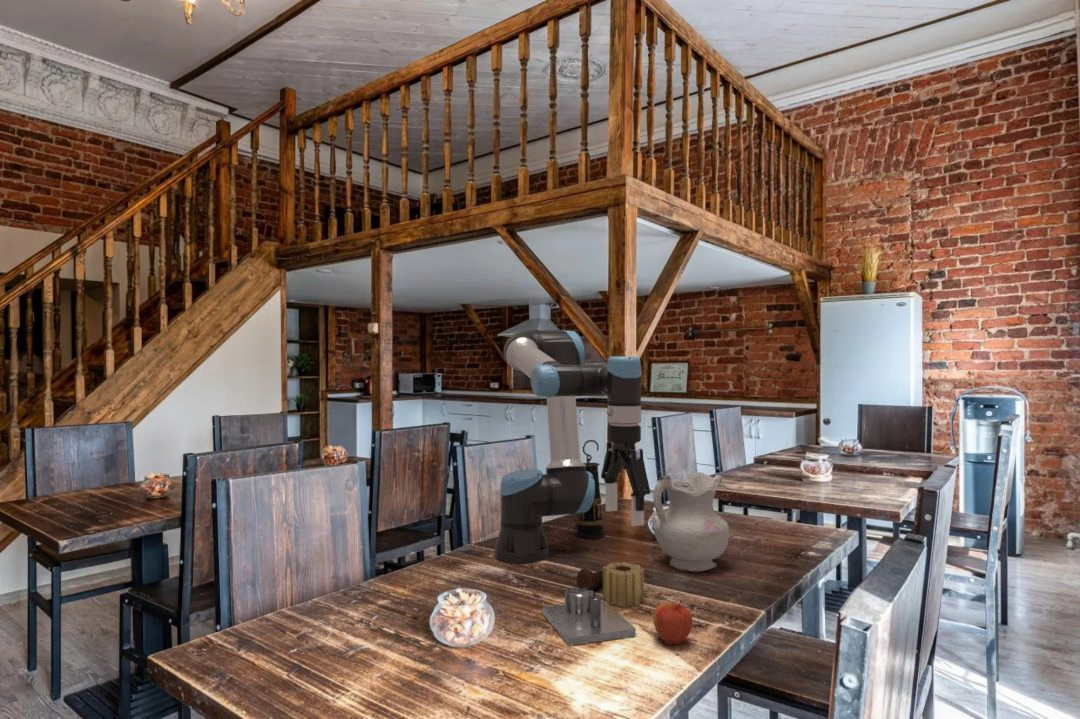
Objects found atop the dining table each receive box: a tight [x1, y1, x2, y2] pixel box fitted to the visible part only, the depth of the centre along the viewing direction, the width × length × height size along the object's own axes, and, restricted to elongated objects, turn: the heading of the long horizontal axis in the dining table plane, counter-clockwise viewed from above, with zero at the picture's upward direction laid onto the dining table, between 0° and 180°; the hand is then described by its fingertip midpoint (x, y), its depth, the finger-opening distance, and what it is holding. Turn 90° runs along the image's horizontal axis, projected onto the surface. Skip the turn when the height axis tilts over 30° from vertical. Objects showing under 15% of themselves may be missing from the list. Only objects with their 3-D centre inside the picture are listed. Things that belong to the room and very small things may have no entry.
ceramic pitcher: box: [652, 471, 730, 573], centre depth 167 cm, size 22×20×25 cm
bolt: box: [576, 568, 603, 592], centre depth 151 cm, size 6×5×15 cm
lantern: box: [574, 439, 606, 541], centre depth 196 cm, size 9×9×30 cm
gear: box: [602, 561, 645, 607], centre depth 142 cm, size 9×9×7 cm
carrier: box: [542, 587, 637, 646], centre depth 128 cm, size 16×14×7 cm
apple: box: [652, 599, 693, 645], centre depth 121 cm, size 7×7×8 cm
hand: (624, 517), depth 142 cm, fingers open, 13 cm apart
